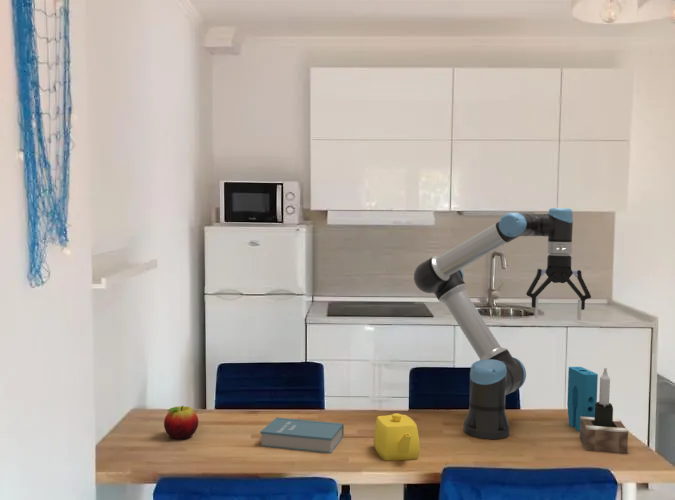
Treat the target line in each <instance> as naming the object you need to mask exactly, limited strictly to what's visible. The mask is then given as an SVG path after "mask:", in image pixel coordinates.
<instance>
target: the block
mask: <svg viewBox="0 0 675 500" xmlns="http://www.w3.org/2000/svg"><path fill="white" fill-rule="evenodd" d="M567 371H568V376H567V403H566V404H567V407H566V408H567V416H568V425H569V426H570V427H571V428H574V429H575V430H576V431H577V432H579V433H580V419H581V418H580V416H582V417H595V404H596V403H597V402H598V379H599V376H598V375H599V374H598V373H596V372H594V371H592V370H590V369H587V368H585V367H583V366H568V370H567Z"/></svg>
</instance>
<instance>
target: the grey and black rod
mask: <svg viewBox="0 0 675 500" xmlns="http://www.w3.org/2000/svg"><path fill="white" fill-rule="evenodd" d="M607 370H608V368H607V367H604V368H603V372H602V375H601V376H600V377H599V395H598V396H599V397H598V399H599V400H598V401H597V403H596V404H595V422H594V426H603V427H612V424H613V419H614V417H613V416H614V408H613V407H614V406H613V404H612V403H610V392H611V391H610V388H611V378H610V376H609V374H608V371H607Z"/></svg>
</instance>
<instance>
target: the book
mask: <svg viewBox="0 0 675 500" xmlns="http://www.w3.org/2000/svg"><path fill="white" fill-rule="evenodd" d="M344 429H345V428H344V423H341V422H340V423H339V422H331V421H330V422H329V421H321V420H320V421H319V420H309V419H296V418H286V417H275V418H274V419H273V420H272V421H270V423H268V424H267V425H266V426H265V427H264V428H263V429H261V431H260V434H261V444H260V445H259V446H260V447H266V448H267V447H268V448H276V449H283V450H284V449H287V450H294V451H295V450H297V451H304V452H305V451H306V452H314V453H315V452H316V453H323V454H332V453H333V452H334V450H336V448H337V447H338V445H339V444H340V442H341V441H342V439H343V438H344V432H345V430H344Z"/></svg>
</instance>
